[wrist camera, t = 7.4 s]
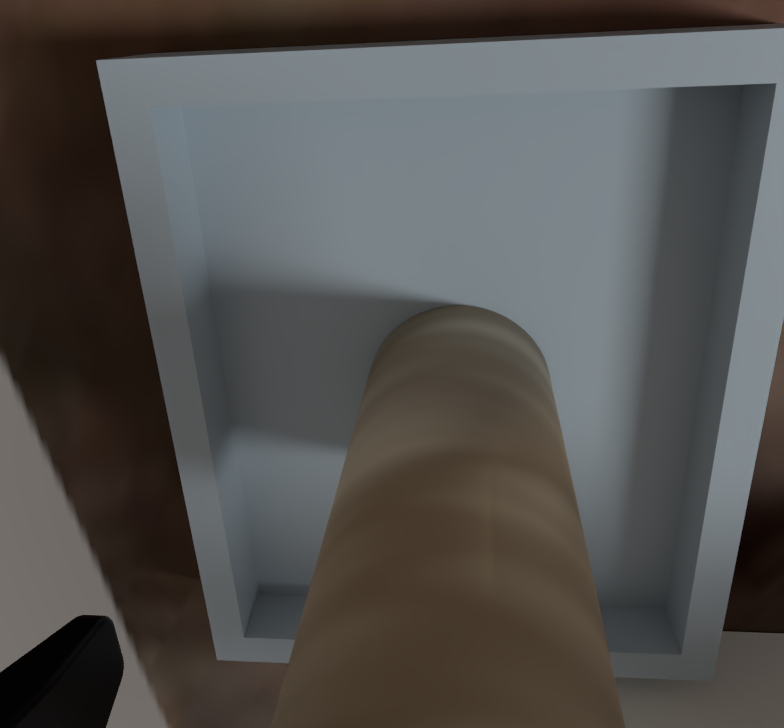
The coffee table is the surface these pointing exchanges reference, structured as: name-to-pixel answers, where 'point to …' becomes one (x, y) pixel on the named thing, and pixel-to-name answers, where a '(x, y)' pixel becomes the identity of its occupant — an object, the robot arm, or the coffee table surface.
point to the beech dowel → (453, 550)
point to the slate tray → (466, 287)
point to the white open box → (715, 690)
